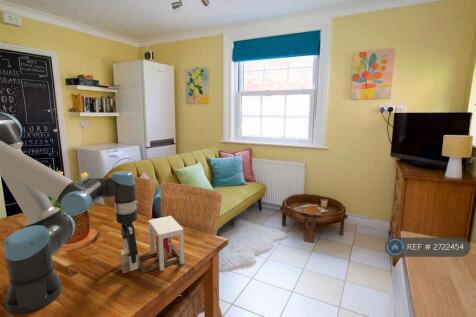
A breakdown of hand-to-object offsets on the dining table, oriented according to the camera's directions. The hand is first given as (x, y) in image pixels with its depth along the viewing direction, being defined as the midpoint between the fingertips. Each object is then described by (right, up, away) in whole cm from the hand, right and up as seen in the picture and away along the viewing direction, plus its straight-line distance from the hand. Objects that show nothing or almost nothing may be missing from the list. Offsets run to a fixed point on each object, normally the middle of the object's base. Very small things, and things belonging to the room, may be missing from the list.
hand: (130, 260), depth 105 cm
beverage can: (+11, -2, +8) cm, 14 cm away
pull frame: (+7, -3, +5) cm, 9 cm away
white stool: (+12, -2, +9) cm, 15 cm away
